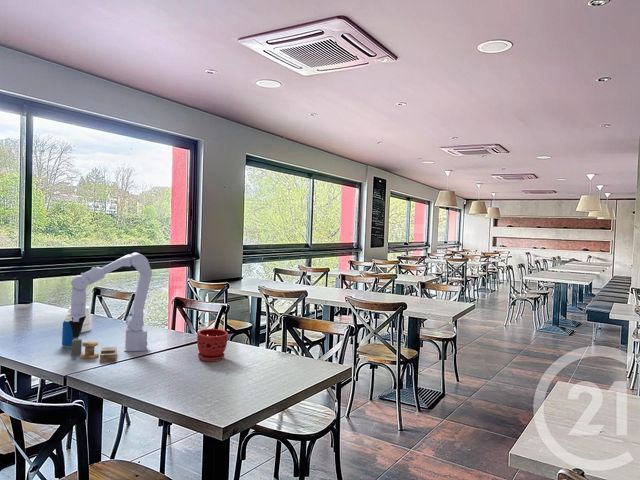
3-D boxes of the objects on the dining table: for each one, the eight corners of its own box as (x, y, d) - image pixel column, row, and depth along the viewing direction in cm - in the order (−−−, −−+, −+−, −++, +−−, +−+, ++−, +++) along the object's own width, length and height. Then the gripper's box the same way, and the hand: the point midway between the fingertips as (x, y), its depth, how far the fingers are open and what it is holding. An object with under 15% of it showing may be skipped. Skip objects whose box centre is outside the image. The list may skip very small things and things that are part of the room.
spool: (99, 354, 206) (99, 340, 206) (97, 358, 200) (98, 344, 200) (81, 354, 204) (81, 340, 204) (79, 359, 197) (80, 345, 197)
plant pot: (190, 360, 205) (191, 332, 205) (207, 353, 217) (209, 327, 217) (215, 365, 200) (216, 336, 200) (232, 357, 213) (233, 331, 212)
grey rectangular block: (81, 352, 207) (81, 337, 206) (80, 355, 203) (81, 339, 203) (72, 353, 205) (72, 338, 205) (71, 355, 202) (71, 340, 202)
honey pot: (96, 329, 249) (97, 295, 248) (72, 333, 238) (74, 298, 237) (82, 325, 255) (83, 292, 255) (58, 329, 245) (59, 295, 244)
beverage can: (71, 348, 212) (72, 322, 212) (58, 347, 213) (59, 320, 213) (81, 345, 218) (82, 319, 218) (68, 343, 220) (69, 318, 219)
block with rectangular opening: (116, 353, 208) (116, 346, 208) (115, 361, 197) (115, 354, 197) (101, 354, 206) (101, 347, 206) (99, 362, 195) (100, 355, 195)
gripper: (70, 300, 209) (68, 331, 209) (65, 306, 195) (64, 339, 196) (87, 300, 212) (86, 330, 212) (84, 306, 198) (83, 338, 199)
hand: (77, 335), depth 204 cm, fingers open, 7 cm apart
